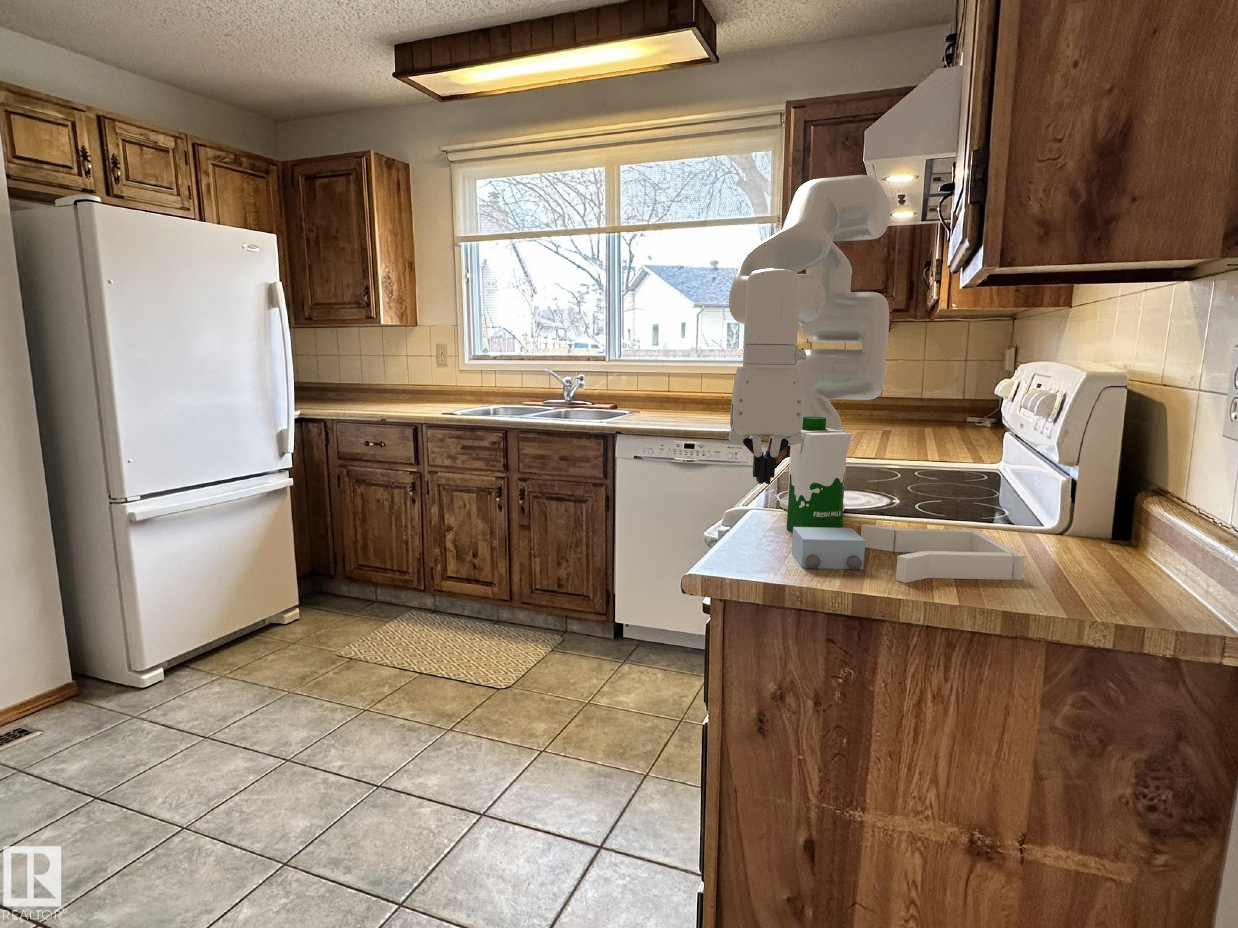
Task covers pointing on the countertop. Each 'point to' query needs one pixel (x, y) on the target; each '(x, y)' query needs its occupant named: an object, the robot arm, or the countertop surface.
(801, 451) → the milk carton
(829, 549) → the grey boxy piece
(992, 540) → the bay
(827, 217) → the robot arm
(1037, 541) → the countertop surface
